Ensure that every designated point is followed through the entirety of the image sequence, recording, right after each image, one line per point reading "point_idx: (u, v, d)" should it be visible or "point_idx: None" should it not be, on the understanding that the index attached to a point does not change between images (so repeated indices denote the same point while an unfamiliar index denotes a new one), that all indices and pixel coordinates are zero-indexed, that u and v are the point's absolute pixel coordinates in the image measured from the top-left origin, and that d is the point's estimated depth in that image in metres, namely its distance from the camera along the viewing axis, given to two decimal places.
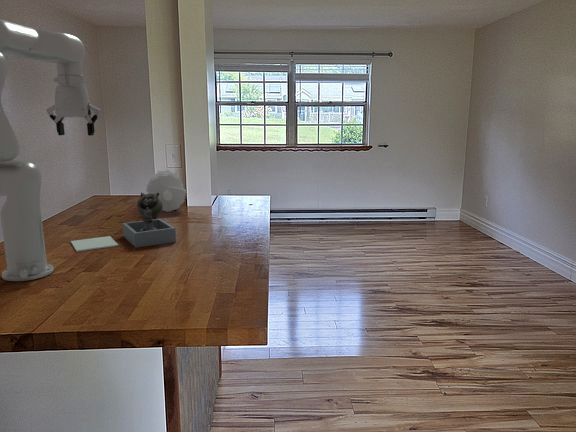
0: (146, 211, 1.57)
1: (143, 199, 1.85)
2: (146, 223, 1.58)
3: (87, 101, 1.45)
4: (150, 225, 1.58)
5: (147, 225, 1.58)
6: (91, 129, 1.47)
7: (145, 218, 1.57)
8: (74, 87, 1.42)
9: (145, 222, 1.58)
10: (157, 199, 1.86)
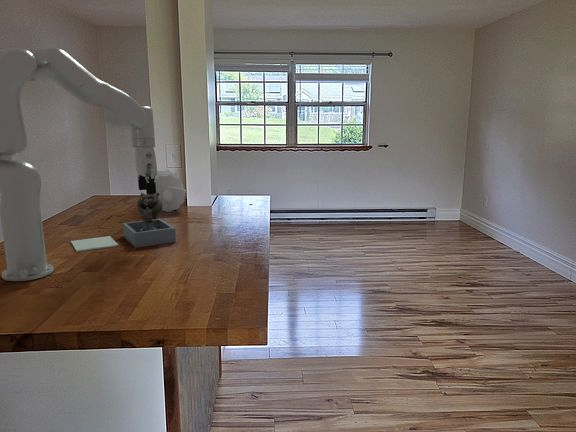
0: (146, 211, 1.57)
1: (143, 199, 1.85)
2: (146, 223, 1.58)
3: None
4: (150, 225, 1.58)
5: (147, 225, 1.58)
6: None
7: (145, 218, 1.57)
8: None
9: (145, 222, 1.58)
10: (157, 199, 1.86)
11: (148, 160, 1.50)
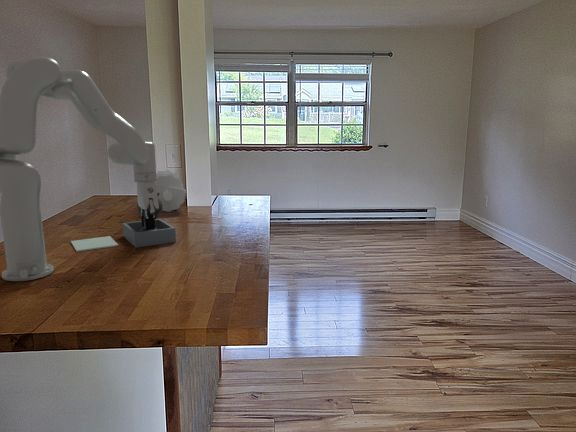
0: None
1: None
2: None
3: None
4: None
5: None
6: None
7: (145, 218, 1.57)
8: None
9: None
10: None
11: (150, 194, 1.53)
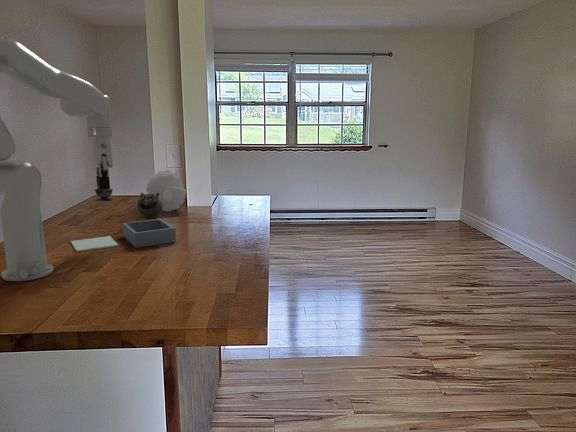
0: None
1: (143, 199, 1.85)
2: None
3: None
4: None
5: None
6: None
7: None
8: None
9: None
10: (157, 199, 1.86)
11: (103, 150, 1.44)
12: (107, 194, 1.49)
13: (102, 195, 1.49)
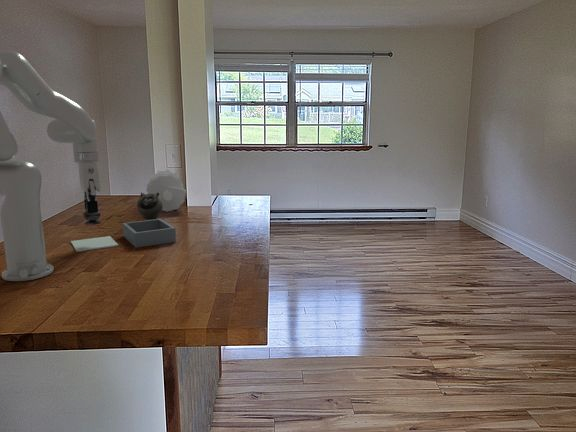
0: None
1: (143, 199, 1.85)
2: None
3: None
4: None
5: None
6: None
7: None
8: None
9: None
10: (157, 199, 1.86)
11: (90, 175, 1.44)
12: (95, 217, 1.50)
13: (90, 219, 1.49)
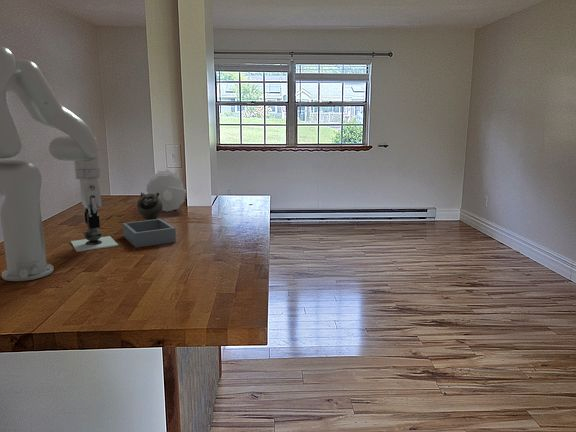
0: None
1: (143, 199, 1.85)
2: None
3: None
4: (94, 228, 1.51)
5: (90, 228, 1.50)
6: None
7: (88, 221, 1.50)
8: None
9: (88, 225, 1.50)
10: (157, 199, 1.86)
11: (91, 192, 1.45)
12: (96, 238, 1.51)
13: (91, 239, 1.50)
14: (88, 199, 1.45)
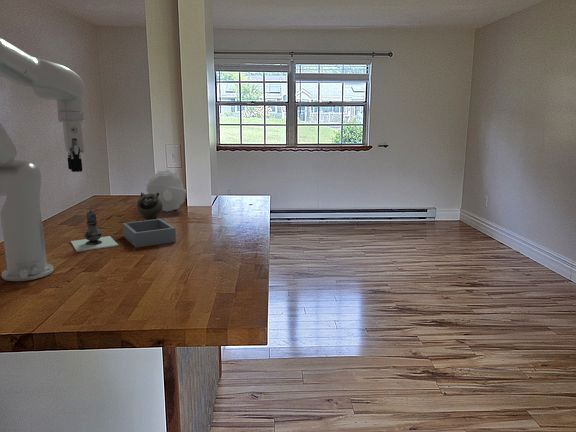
0: (89, 214, 1.50)
1: (143, 199, 1.85)
2: (89, 226, 1.50)
3: None
4: (94, 228, 1.51)
5: (90, 228, 1.50)
6: None
7: (88, 221, 1.50)
8: None
9: (88, 225, 1.50)
10: (157, 199, 1.86)
11: (73, 135, 1.40)
12: (96, 238, 1.51)
13: (91, 239, 1.50)
14: (70, 142, 1.40)
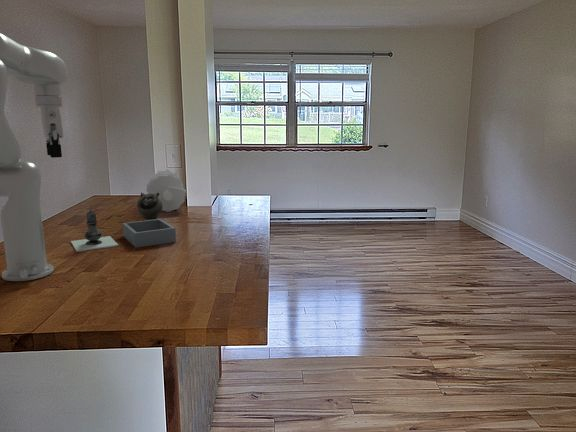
0: (89, 214, 1.50)
1: (143, 199, 1.85)
2: (89, 226, 1.50)
3: None
4: (94, 228, 1.51)
5: (90, 228, 1.50)
6: None
7: (88, 221, 1.50)
8: None
9: (88, 225, 1.50)
10: (157, 199, 1.86)
11: (51, 120, 1.39)
12: (96, 238, 1.51)
13: (91, 239, 1.50)
14: (48, 127, 1.38)
